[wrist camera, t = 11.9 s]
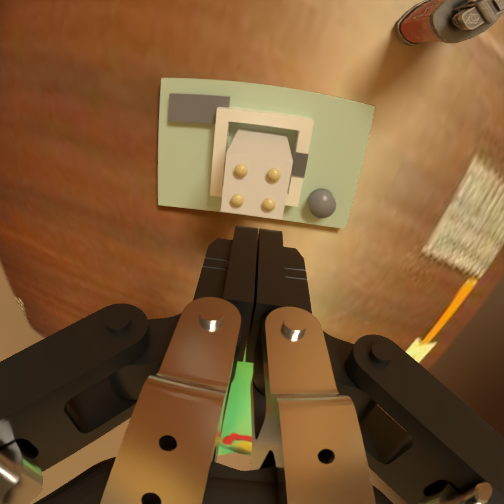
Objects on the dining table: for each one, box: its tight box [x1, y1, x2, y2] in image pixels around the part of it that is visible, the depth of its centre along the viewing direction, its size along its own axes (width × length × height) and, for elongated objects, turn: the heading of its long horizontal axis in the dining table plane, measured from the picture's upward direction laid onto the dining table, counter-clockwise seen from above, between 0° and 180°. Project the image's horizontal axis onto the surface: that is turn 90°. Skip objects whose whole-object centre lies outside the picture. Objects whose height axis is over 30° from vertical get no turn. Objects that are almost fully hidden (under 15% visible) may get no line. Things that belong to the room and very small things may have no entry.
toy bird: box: [218, 348, 253, 456], centre depth 37 cm, size 18×17×15 cm
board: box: [158, 78, 375, 229], centre depth 26 cm, size 18×12×3 cm, turn 83°
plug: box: [221, 128, 293, 220], centre depth 23 cm, size 4×4×8 cm
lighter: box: [394, 0, 504, 45], centre depth 14 cm, size 8×3×10 cm, turn 132°
